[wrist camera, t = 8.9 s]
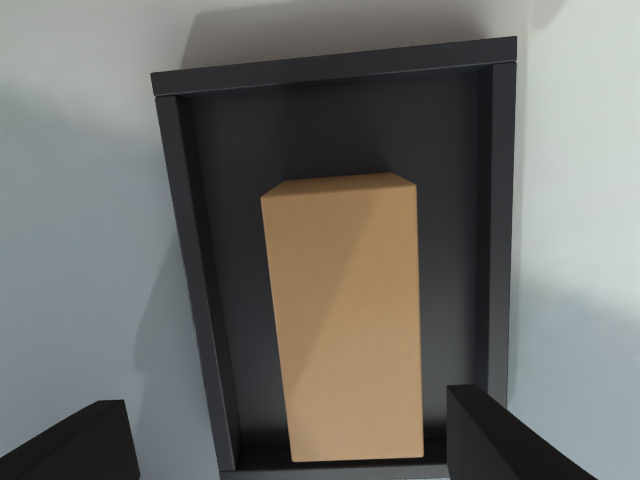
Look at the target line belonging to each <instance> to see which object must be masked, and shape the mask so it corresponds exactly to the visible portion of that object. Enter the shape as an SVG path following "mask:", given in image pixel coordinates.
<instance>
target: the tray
mask: <svg viewBox="0 0 640 480" xmlns="http://www.w3.org/2000/svg"><path fill="white" fill-rule="evenodd" d="M516 60H517V36H510V37H500V38H490V39H480V40H470V41H460V42H451V43H441V44H431V45H421V46H411V47H401V48H391V49H381V50H371V51H362V52H352V53H342V54H332V55H322V56H312V57H302V58H292V59H282V60H273V61H263V62H253V63H243V64H233V65H223V66H213V67H203V68H194V69H184V70H174V71H164V72H154V73H150V75H151V81H152V87H153V93H154V96H155V97H156V98H155V103H156V108H157V114H158V120H159V126H160V132H161V137H162V143H163V149H164V155H165V161H166V166H167V172H168V178H169V184H170V190H171V196H172V201H173V207H174V213H175V219H176V225H177V230H178V236H179V242H180V248H181V254H182V259H183V265H184V271H185V277H186V283H187V289H188V294H189V300H190V306H191V312H192V318H193V323H194V329H195V335H196V341H197V347H198V353H199V358H200V364H201V370H202V376H203V382H204V387H205V393H206V399H207V405H208V411H209V416H210V422H211V428H212V434H213V440H214V446H215V451H216V457H217V463H218V469H219V475H220V480H401V479H431V478H450V475H449V472H448V468H447V402H446V385H463V384H476V385H477V386H479V387H480V388H481V389H482V390H484V391H485V392H486V393H487V394H488V395H490V396H491V397H492V398H493V399H494V400H496V401H497V402H498V403H499V404H501V405H502V406H503V407H504V408H505V409H507V377H508V343H509V308H510V274H511V240H512V205H513V171H514V137H515V103H516V68H517V63H516V62H515V61H516ZM385 172H392V173H394V174H396V175H398V176H400V177H402V178H404V179H406V180H408V181H410V182H412V183H414V184H415V185H416V191H417V227H418V263H419V298H420V334H421V370H422V406H423V442H424V455H423V457H411V458H385V459H358V460H331V461H304V462H293V461H292V457H291V448H290V440H289V432H288V424H287V415H286V407H285V399H284V390H283V382H282V374H281V365H280V357H279V349H278V340H277V332H276V324H275V315H274V307H273V299H272V290H271V282H270V274H269V265H268V257H267V249H266V240H265V232H264V224H263V215H262V207H261V196H263V195H264V194H266V193H267V192H269V191H270V190H272V189H273V188H275V187H276V186H278V185H279V184H281V183H282V182H284V181H287V180H299V179H312V178H324V177H336V176H348V175H360V174H372V173H385Z"/></svg>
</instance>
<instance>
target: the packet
mask: <svg viewBox="0 0 640 480" xmlns="http://www.w3.org/2000/svg"><path fill="white" fill-rule="evenodd" d="M261 207H262V215H263V224H264V232H265V240H266V249H267V257H268V265H269V274H270V282H271V290H272V299H273V307H274V315H275V324H276V332H277V340H278V349H279V357H280V365H281V374H282V382H283V390H284V399H285V407H286V415H287V424H288V432H289V440H290V448H291V457H292V461H293V462H304V461H331V460H358V459H385V458H411V457H423V455H424V442H423V406H422V370H421V334H420V298H419V263H418V227H417V191H416V185H415V184H414V183H412V182H410V181H408V180H406V179H404V178H402V177H400V176H398V175H396V174H394V173H392V172H385V173H372V174H360V175H348V176H336V177H324V178H312V179H299V180H287V181H284V182H282V183H281V184H279V185H278V186H276V187H275V188H273V189H272V190H270V191H269V192H267V193H266V194H264V195H263V196H261Z"/></svg>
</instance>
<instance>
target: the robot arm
mask: <svg viewBox="0 0 640 480" xmlns="http://www.w3.org/2000/svg"><path fill="white" fill-rule="evenodd" d="M446 402H447V468H448V472H449V475H450V479H451V480H597V479H596V478H595V477H593V476H592V475H590V474H589V473H588V472H586V471H585V470H583V469H582V468H581V467H579V466H578V465H577V464H575V463H574V462H573V461H571V460H570V459H569V458H567V457H566V456H565V455H563V454H562V453H561V452H559V451H558V450H557V449H555V448H554V447H553V446H551V445H550V444H549V443H548V442H546V441H545V440H544V439H542V438H541V437H540V436H539V435H537V434H536V433H535V432H534V431H532V430H531V429H530V428H529V427H527V426H526V425H525V424H524V423H522V422H521V421H520V420H519V419H518V418H516V417H515V416H514V415H513V414H511V413H510V412H509V411H508V410H507V409H505V408H504V407H503V406H502V405H501V404H499V403H498V402H497V401H496V400H494V399H493V398H492V397H491V396H490V395H488V394H487V393H486V392H485V391H484V390H482V389H481V388H480V387H479V386H477V385H476V384H463V385H446ZM139 478H140V471H139V466H138V461H137V457H136V452H135V448H134V443H133V438H132V434H131V429H130V425H129V420H128V416H127V411H126V406H125V402H124V400H103V401H97V402H95V403H93V404H91V405H89V406H87V407H85V408H83V409H81V410H79V411H78V412H76V413H74V414H72V415H71V416H69V417H67V418H66V419H64V420H62V421H60V422H59V423H57V424H55V425H54V426H52V427H50V428H49V429H47V430H46V431H44V432H42V433H41V434H39V435H37V436H36V437H34V438H32V439H31V440H29V441H27V442H26V443H24V444H23V445H21V446H19V447H18V448H16V449H14V450H13V451H11V452H9V453H8V454H6V455H4V456H3V457H1V458H0V480H139Z"/></svg>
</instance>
